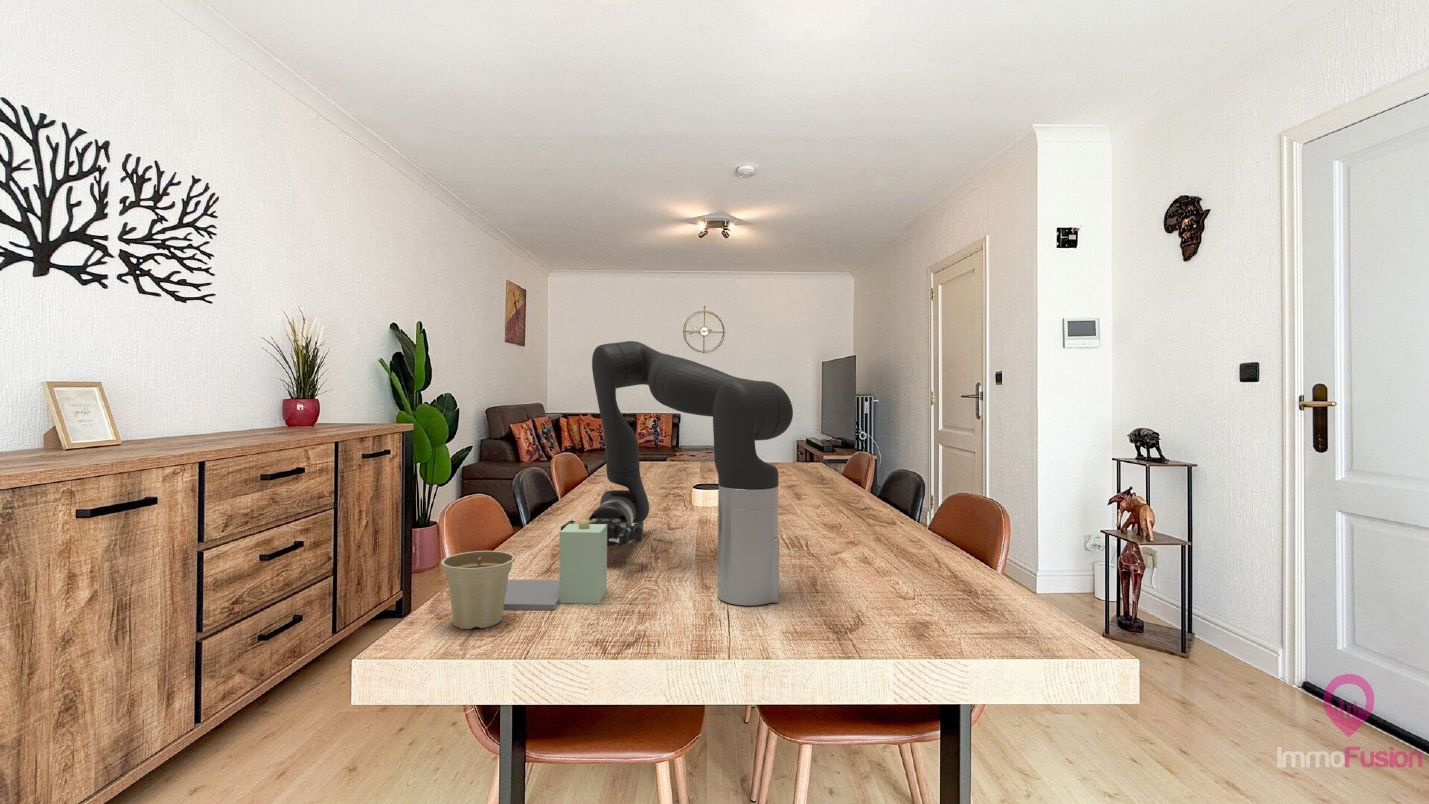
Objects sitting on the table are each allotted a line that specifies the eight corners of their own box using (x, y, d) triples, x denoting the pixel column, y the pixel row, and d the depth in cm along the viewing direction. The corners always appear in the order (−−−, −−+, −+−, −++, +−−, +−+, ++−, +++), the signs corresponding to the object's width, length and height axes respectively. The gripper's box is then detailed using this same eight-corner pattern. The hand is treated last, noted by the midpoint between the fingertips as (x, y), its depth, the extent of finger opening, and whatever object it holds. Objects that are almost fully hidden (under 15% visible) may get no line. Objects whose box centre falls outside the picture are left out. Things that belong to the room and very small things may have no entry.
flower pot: (525, 611, 93) (525, 551, 92) (497, 636, 83) (497, 569, 83) (462, 609, 94) (462, 549, 93) (427, 633, 84) (427, 566, 84)
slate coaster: (572, 585, 105) (572, 580, 105) (554, 610, 93) (554, 604, 93) (498, 584, 105) (498, 579, 105) (470, 609, 93) (470, 603, 93)
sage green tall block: (606, 591, 102) (607, 516, 102) (599, 603, 96) (600, 524, 96) (568, 591, 102) (569, 516, 102) (559, 603, 96) (559, 524, 96)
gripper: (574, 501, 125) (553, 517, 109) (649, 502, 125) (638, 518, 109) (574, 540, 125) (553, 562, 109) (648, 541, 125) (638, 563, 109)
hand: (595, 540), depth 109 cm, fingers open, 8 cm apart
